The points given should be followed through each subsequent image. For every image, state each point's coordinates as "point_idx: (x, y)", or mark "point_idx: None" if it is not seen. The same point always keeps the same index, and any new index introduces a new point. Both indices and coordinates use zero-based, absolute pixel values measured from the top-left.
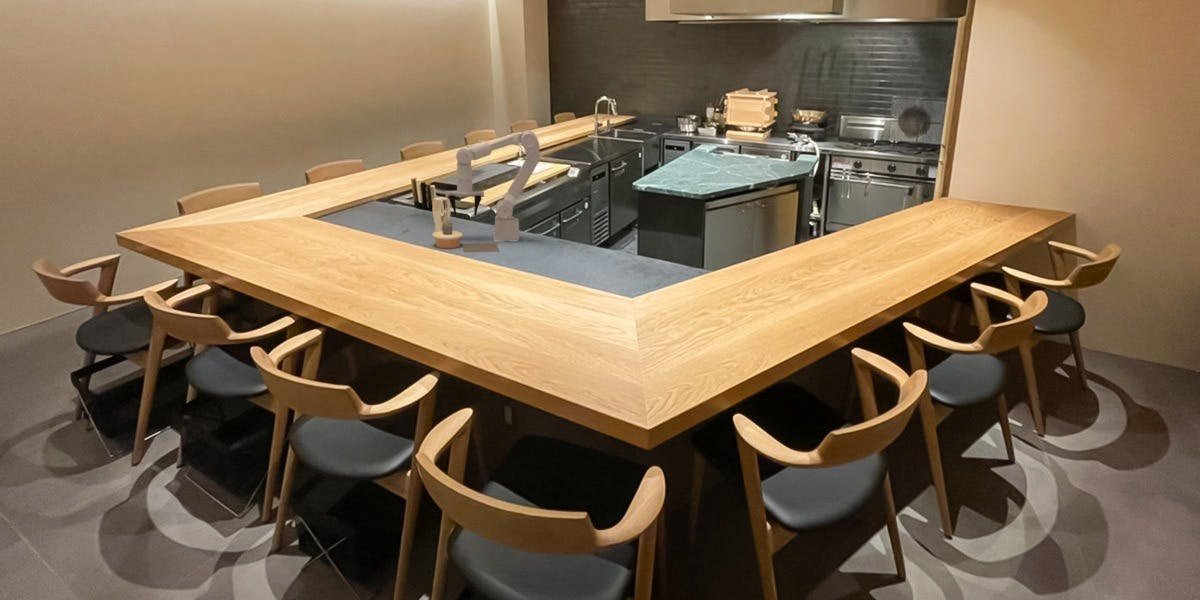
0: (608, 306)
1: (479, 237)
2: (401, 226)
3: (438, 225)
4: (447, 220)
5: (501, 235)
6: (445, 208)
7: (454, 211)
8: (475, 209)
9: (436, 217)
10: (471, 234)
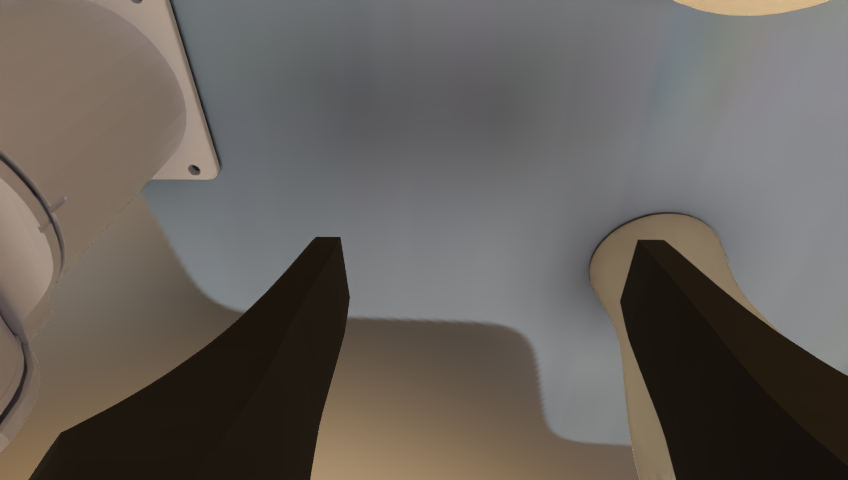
0: None
1: (348, 196)
2: None
3: (739, 294)
4: None
5: (56, 18)
6: None
7: (696, 275)
8: (295, 293)
9: None
10: (415, 285)
